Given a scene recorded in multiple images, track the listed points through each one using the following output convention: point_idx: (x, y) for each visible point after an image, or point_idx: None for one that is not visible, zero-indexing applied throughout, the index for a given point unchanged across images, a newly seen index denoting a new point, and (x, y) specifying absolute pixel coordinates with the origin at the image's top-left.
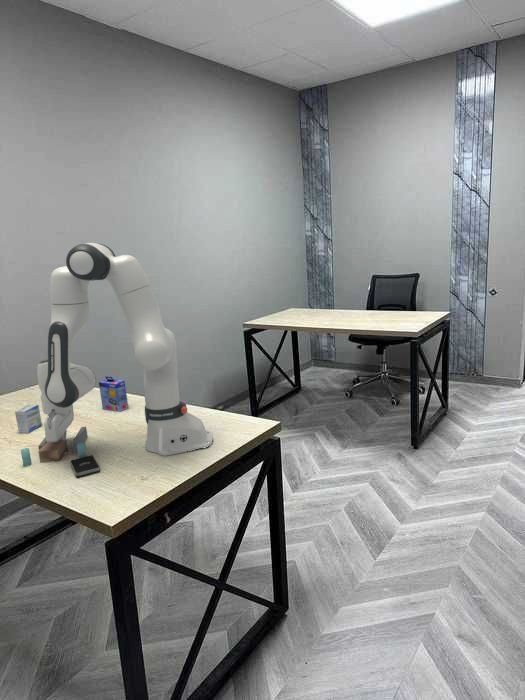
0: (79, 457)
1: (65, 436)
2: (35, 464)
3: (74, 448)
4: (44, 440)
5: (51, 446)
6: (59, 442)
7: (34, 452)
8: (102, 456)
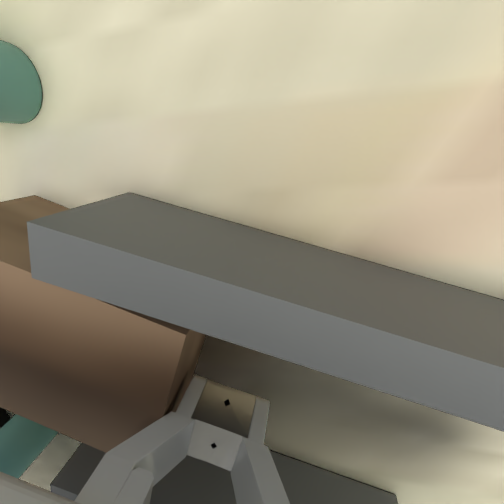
0: (10, 419)
1: (233, 487)
2: (4, 158)
3: None
4: (206, 301)
5: (11, 348)
6: (96, 418)
7: (285, 125)
8: (50, 480)
